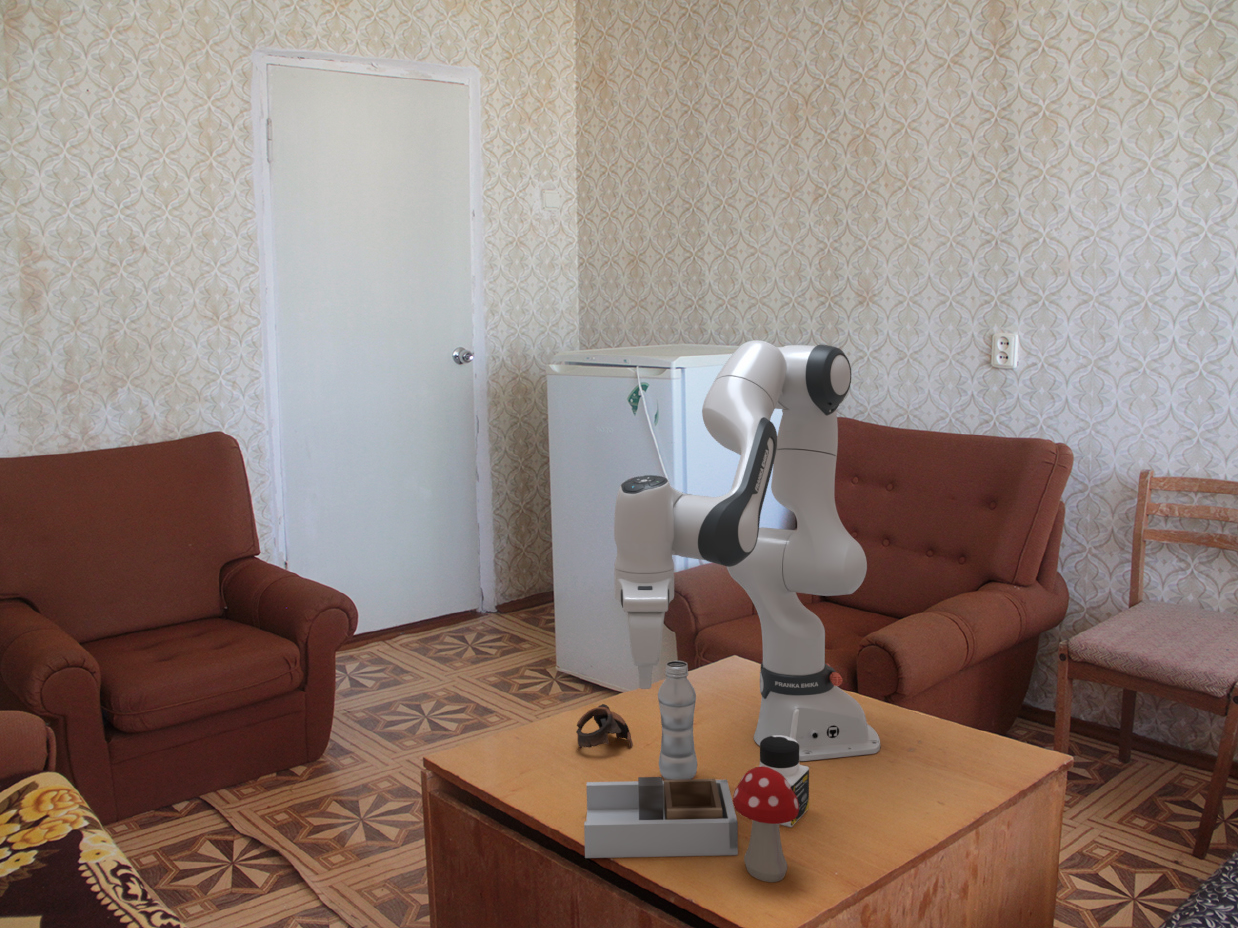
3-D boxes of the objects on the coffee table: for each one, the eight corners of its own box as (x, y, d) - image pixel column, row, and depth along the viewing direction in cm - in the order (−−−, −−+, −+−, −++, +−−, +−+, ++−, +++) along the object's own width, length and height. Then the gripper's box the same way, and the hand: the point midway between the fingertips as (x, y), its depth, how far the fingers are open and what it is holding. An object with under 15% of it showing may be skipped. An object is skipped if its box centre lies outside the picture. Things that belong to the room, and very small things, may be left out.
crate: (715, 807, 161) (715, 765, 160) (722, 841, 151) (722, 795, 150) (638, 809, 161) (637, 766, 160) (640, 842, 151) (639, 797, 150)
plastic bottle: (671, 790, 170) (670, 673, 167) (651, 774, 176) (649, 661, 173) (705, 781, 173) (704, 666, 170) (684, 766, 179) (683, 655, 176)
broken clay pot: (639, 756, 185) (619, 724, 182) (592, 779, 185) (571, 747, 182) (631, 715, 196) (611, 684, 192) (586, 737, 196) (566, 706, 193)
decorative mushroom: (812, 878, 143) (813, 775, 141) (763, 896, 138) (763, 790, 136) (767, 847, 151) (767, 749, 149) (719, 863, 147) (719, 763, 145)
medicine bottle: (791, 828, 157) (792, 752, 155) (748, 817, 161) (748, 743, 159) (809, 809, 163) (810, 736, 161) (767, 798, 167) (767, 727, 165)
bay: (727, 809, 163) (726, 779, 162) (737, 854, 149) (737, 822, 149) (587, 812, 163) (586, 782, 162) (585, 857, 149) (584, 825, 148)
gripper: (622, 571, 164) (623, 656, 165) (623, 603, 143) (623, 700, 145) (662, 570, 164) (662, 656, 165) (668, 603, 143) (668, 699, 145)
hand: (644, 676), depth 155 cm, fingers open, 8 cm apart
